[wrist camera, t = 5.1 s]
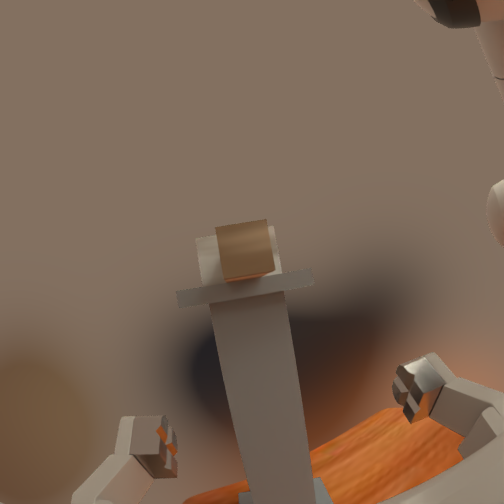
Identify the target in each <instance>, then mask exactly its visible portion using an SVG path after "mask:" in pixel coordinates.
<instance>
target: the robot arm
mask: <svg viewBox="0 0 504 504" xmlns="http://www.w3.org/2000/svg"><path fill="white" fill-rule="evenodd" d="M413 1H414V2H415V3H416V4H417V5H418V6H419V7H420V8H422V9H423V10H424V11H425V12H427V13H428V14H429V15H431V17H432V18H433V19H434V20H435V21H436V22H438V23H440V24H443V25H444V26H446V27H448V28H470V27H473V28H474V30H475V33H476V36H477V38H478V41H479V43H480V46H481V48H482V51H483V53H484V55H485V58H486V60H487V63H488V65H489V67H490V70H491V72H492V75H493V77H494V79H495V82H496V84H497V87H498V90H499V92H500V95H501V98H502V101H503V103H504V0H413ZM487 219H488V224H489V227H490V230H491V232H492V234H493V236H494V237H495V239H496V240H497V242H498V243H500V245H501V246H502V247H503V248H504V180H502V181H500V182H499V183H497V184H495V185H494V186H492V188H491V190H490V193H489V195H488V200H487ZM396 374H397V375H398V376H397V377H396V378H395V380H394V381H393V385H392V390H393V395H394V398H395V400H396V401H397V403H398V404H400V405H403V406H404V408H403V413H404V414H405V416H406V418H407V419H408V421H409V422H410V424H412V423H415V422H417V421H419V420H422V419H424V418H426V417H428V416H429V417H430V418H431V419H433V420H435V421H437V422H438V423H440V424H442V425H444V426H445V427H447V428H449V429H451V430H452V431H454V432H456V433H458V434H460V435H462V436H463V437H465V438H464V440H463V441H462V442H461V444H460V445H459V447H458V451H459V452H460V454H461V455H462V457H463V459H464V460H462V461H461V462H459V463H457V464H456V465H454V466H452V467H451V468H449V469H447V470H446V471H444V472H442V473H440V474H438V475H437V476H435V477H433V478H431V479H429V480H427V481H425V482H423V483H421V484H420V485H417V486H415V487H413V488H411V489H409V490H407V491H405V492H403V493H401V494H398V495H396V496H394V497H391V498H389V499H387V500H384V501H382V502H379V503H377V504H504V393H502V392H499V391H497V390H494V389H491V388H488V387H485V386H483V385H480V384H477V383H474V382H472V381H468V380H466V379H463V378H461V377H459V378H456V377H455V376H454V374H453V373H452V372H451V371H450V370H449V368H448V367H447V366H446V365H445V364H444V363H443V361H442V360H441V359H440V358H439V357H438V356H437V355H436V354H435V353H433V352H432V353H429V354H427V355H424V356H422V357H418V358H416V359H414V360H411V361H409V362H406V363H404V364H401V365H399V366H398V367H397V370H396ZM176 453H177V439H176V435H175V432H174V431H173V428H171V427H169V426H168V420H167V418H166V417H165V416H164V415H162V416H123V417H122V418H121V420H120V424H119V429H118V435H117V441H116V446H115V452H114V454H111V455H110V456H108V457H107V459H106V460H105V461H104V462H103V463H102V464H101V465H100V466H99V467H98V468H97V469H96V470H95V471H94V472H93V473H92V474H91V475H90V476H89V477H88V479H87V480H86V481H85V482H84V483H83V484H82V485H81V486H80V487H79V488H78V489H77V490H76V491H75V492H74V493H73V495H72V500H71V504H139V502H140V501H141V499H142V498H143V496H144V495H145V493H146V492H147V490H148V489H149V487H150V486H151V484H152V483H153V481H154V479H155V478H156V479H157V478H177V461H176V460H175V458H174V455H175V454H176ZM0 504H3V503H1V502H0Z"/></svg>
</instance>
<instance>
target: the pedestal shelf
mask: <svg viewBox="0 0 504 504" xmlns="http://www.w3.org/2000/svg"><path fill="white" fill-rule="evenodd" d="M310 285H314V280H313V274H312V269H311V268H309V269H303V270H297V271H293V272H287V273H281V274H275V275H270V276H264V277H258V278H253V279H247V280H241V281H235V282H229V283H223V284H217V285H211V286H205V287H199V288H193V289H186V290H180V291H176V294H177V300H178V305H179V308H184V307H190V306H197V305H203V304H209V306H210V311H211V317H212V323H213V328H214V333H215V339H216V344H217V349H218V354H219V359H220V364H221V369H222V374H223V379H224V383H225V388H226V393H227V397H228V402H229V407H230V411H231V416H232V420H233V424H234V429H235V433H236V437H237V441H238V445H239V449H240V454H241V458H242V462H243V465H244V469H245V473H246V477H247V481H248V485H249V489H250V491H249V492H242V493H239V504H333V502H332V500H331V498H330V496H329V494H328V492H327V490H326V488H325V486H324V484H323V482H322V480H321V478H320V477H318V478H314V479H313V475H312V468H311V460H310V453H309V447H308V440H307V432H306V426H305V420H304V413H303V406H302V399H301V393H300V386H299V380H298V374H297V368H296V361H295V355H294V349H293V343H292V337H291V331H290V325H289V320H288V313H287V308H286V302H285V297H284V290H289V289H294V288H300V287H304V286H310Z"/></svg>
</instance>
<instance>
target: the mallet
mask: <svg viewBox="0 0 504 504" xmlns="http://www.w3.org/2000/svg"><path fill="white" fill-rule="evenodd" d="M215 229H216V235H214V236H208V237H202V238H196V239H195V240H196V246H197V254H198V260H199V266H200V273H201V279H202V285H203V287H205V286H211V285H217V284H223V283H229V282H235V281H241V280H247V279H253V278H258V277H264V276H270V275H275V274H281V273H282V269H281V264H280V259H279V253H278V248H277V243H276V237H275V232H274V227H273V226H269V227H268V226H267V220H266V219H264V220H258V221H251V222H245V223H239V224H233V225H227V226H221V227H216V228H215Z"/></svg>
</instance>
